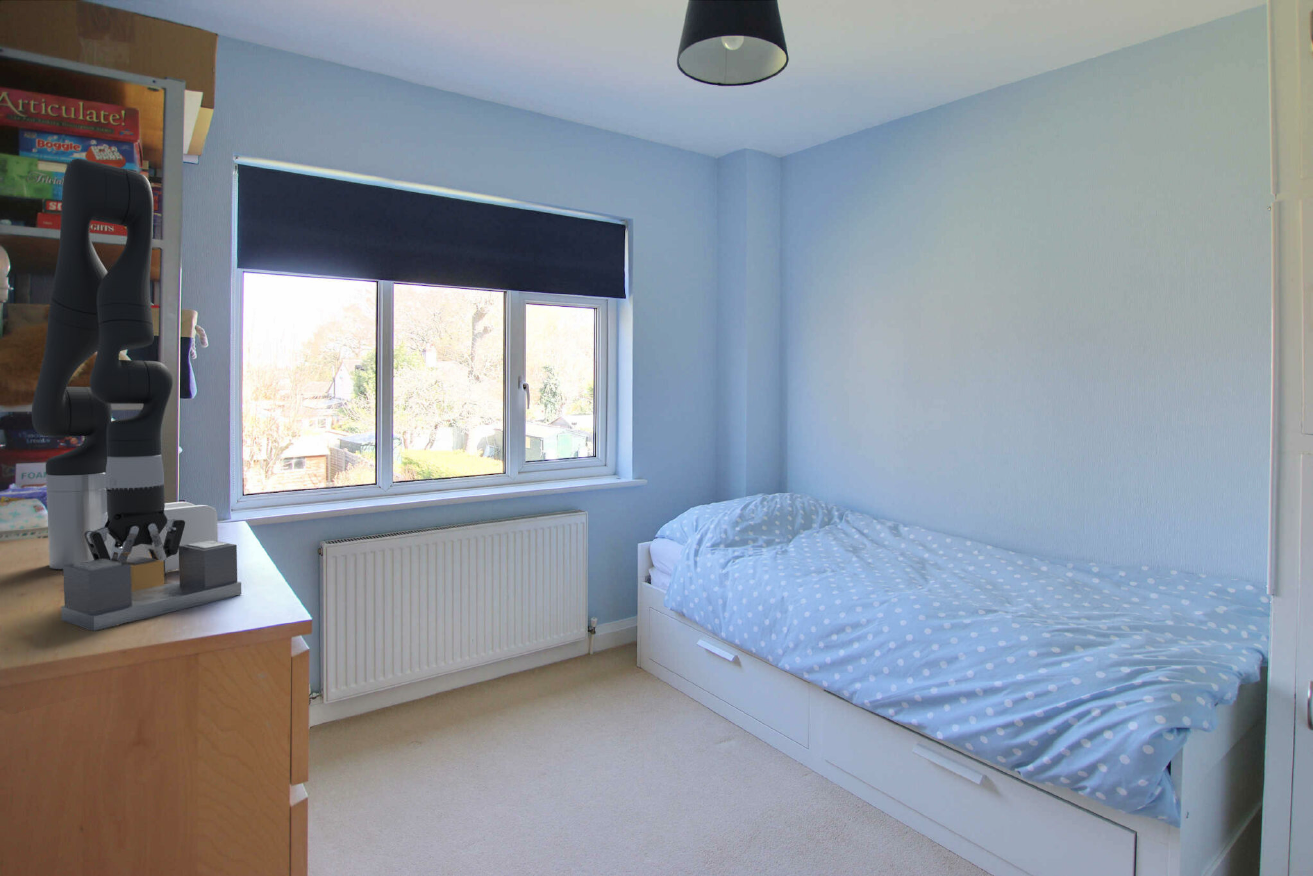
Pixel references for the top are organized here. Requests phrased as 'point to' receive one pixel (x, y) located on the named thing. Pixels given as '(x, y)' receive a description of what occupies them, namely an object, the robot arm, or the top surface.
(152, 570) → the orange module
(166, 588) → the rail plate
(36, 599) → the top surface
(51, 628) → the top surface
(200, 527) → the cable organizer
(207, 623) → the top surface
